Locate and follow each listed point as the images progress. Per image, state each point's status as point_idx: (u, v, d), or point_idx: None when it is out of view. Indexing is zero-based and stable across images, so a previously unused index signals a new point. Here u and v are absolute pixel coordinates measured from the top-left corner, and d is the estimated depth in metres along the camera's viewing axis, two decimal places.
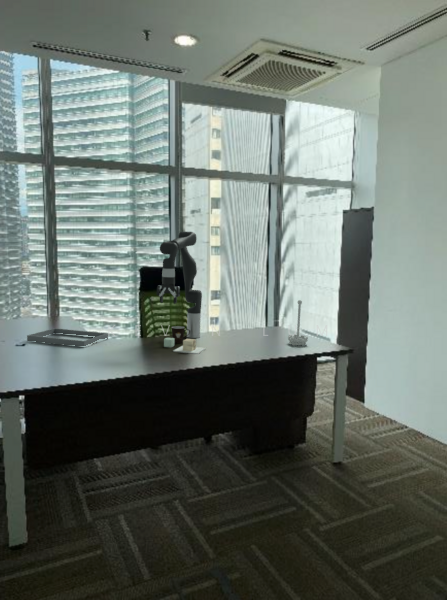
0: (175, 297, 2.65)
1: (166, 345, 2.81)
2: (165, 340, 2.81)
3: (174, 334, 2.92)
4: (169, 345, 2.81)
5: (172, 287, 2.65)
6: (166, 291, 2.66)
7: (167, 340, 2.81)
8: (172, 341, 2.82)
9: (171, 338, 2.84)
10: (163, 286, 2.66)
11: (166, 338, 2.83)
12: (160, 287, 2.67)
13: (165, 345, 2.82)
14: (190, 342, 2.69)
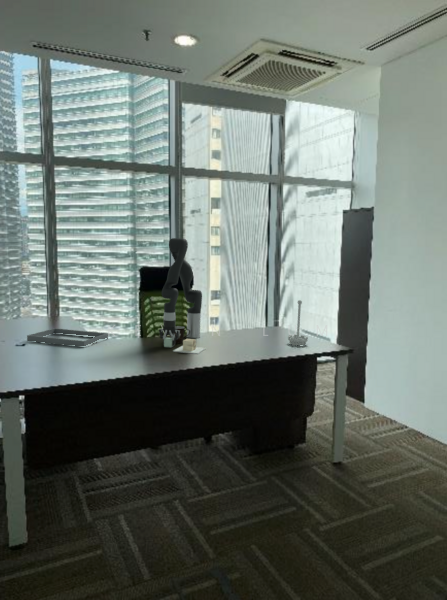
0: None
1: (166, 345, 2.81)
2: (165, 340, 2.81)
3: None
4: (169, 345, 2.81)
5: (173, 330, 2.81)
6: (168, 333, 2.82)
7: (167, 340, 2.81)
8: None
9: (171, 338, 2.84)
10: (164, 328, 2.82)
11: (166, 338, 2.83)
12: (162, 330, 2.84)
13: (165, 345, 2.82)
14: (190, 342, 2.69)
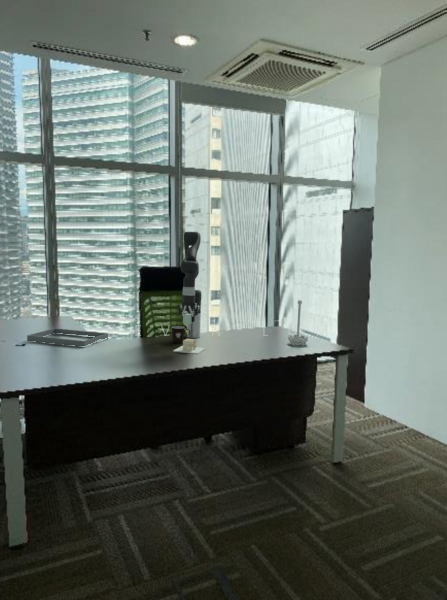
0: (193, 316, 2.69)
1: (185, 321, 2.69)
2: (184, 316, 2.69)
3: (174, 334, 2.92)
4: (188, 321, 2.69)
5: (193, 306, 2.68)
6: (187, 309, 2.70)
7: (186, 316, 2.69)
8: (191, 317, 2.70)
9: (190, 314, 2.71)
10: (183, 304, 2.70)
11: (185, 314, 2.71)
12: (181, 306, 2.71)
13: (184, 321, 2.69)
14: (190, 342, 2.69)
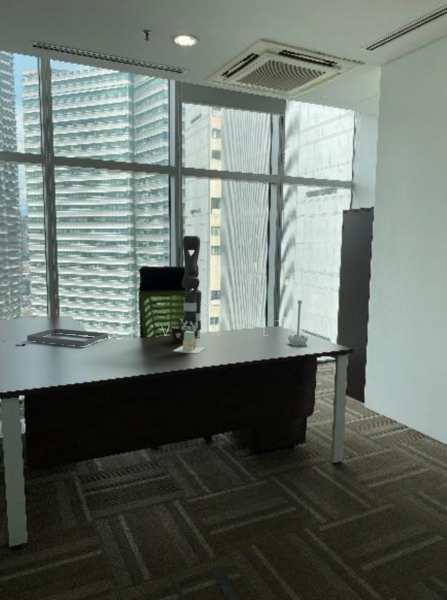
0: (196, 331, 2.70)
1: (187, 339, 2.70)
2: (185, 333, 2.70)
3: (174, 334, 2.92)
4: (190, 339, 2.70)
5: (194, 321, 2.69)
6: (188, 324, 2.71)
7: (187, 333, 2.70)
8: (193, 334, 2.71)
9: (191, 331, 2.73)
10: (185, 319, 2.71)
11: (186, 331, 2.72)
12: (182, 320, 2.72)
13: (185, 339, 2.71)
14: (190, 342, 2.69)
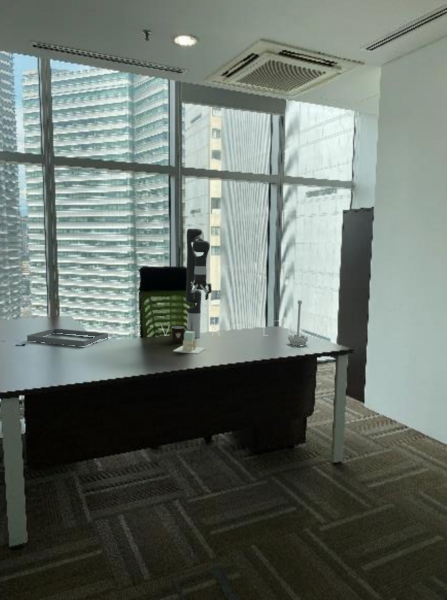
0: None
1: (187, 339, 2.70)
2: (185, 333, 2.70)
3: (174, 334, 2.92)
4: (190, 339, 2.70)
5: (204, 284, 2.74)
6: (198, 288, 2.76)
7: (187, 333, 2.70)
8: (193, 334, 2.71)
9: (191, 331, 2.73)
10: (195, 283, 2.76)
11: (186, 331, 2.72)
12: (192, 284, 2.77)
13: (185, 339, 2.71)
14: (190, 342, 2.69)
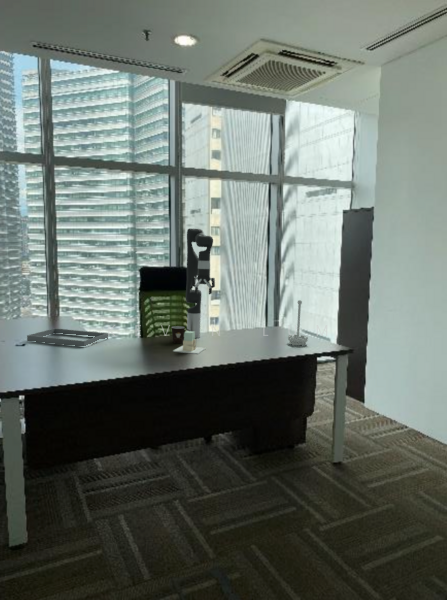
0: (210, 288, 2.77)
1: (187, 339, 2.70)
2: (185, 333, 2.70)
3: (174, 334, 2.92)
4: (190, 339, 2.70)
5: (207, 278, 2.77)
6: (201, 282, 2.78)
7: (187, 333, 2.70)
8: (193, 334, 2.71)
9: (191, 331, 2.73)
10: (199, 277, 2.78)
11: (186, 331, 2.72)
12: (196, 278, 2.79)
13: (185, 339, 2.71)
14: (190, 342, 2.69)
